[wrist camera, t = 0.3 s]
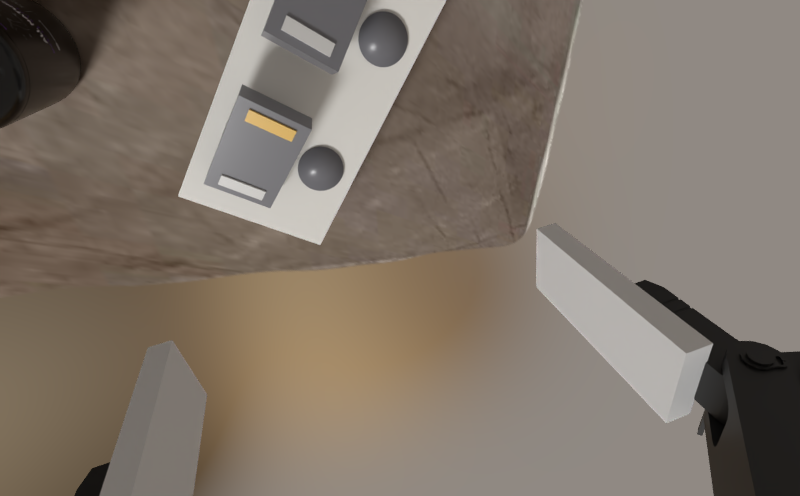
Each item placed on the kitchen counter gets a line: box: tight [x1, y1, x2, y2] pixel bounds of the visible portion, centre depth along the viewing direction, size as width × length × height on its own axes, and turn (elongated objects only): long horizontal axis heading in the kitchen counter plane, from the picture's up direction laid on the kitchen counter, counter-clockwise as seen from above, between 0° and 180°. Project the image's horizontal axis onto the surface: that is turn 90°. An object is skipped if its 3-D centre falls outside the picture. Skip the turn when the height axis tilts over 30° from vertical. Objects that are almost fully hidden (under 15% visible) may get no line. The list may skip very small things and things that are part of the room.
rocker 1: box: [204, 84, 312, 208], centre depth 28 cm, size 5×7×2 cm, turn 150°
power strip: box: [178, 0, 446, 245], centre depth 29 cm, size 11×32×6 cm, turn 150°
